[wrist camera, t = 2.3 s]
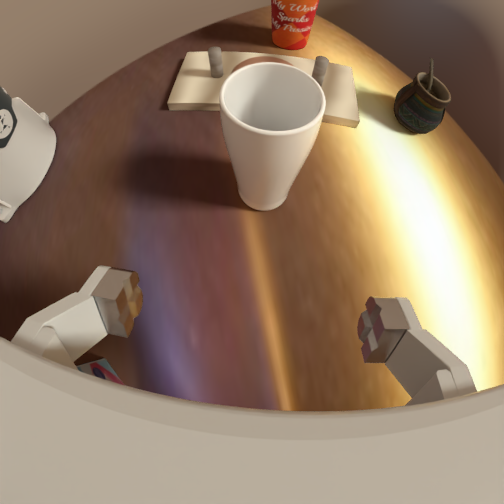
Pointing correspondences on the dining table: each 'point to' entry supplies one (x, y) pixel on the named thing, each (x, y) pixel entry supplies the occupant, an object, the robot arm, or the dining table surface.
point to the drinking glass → (269, 128)
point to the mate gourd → (422, 103)
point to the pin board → (225, 63)
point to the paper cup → (292, 22)
